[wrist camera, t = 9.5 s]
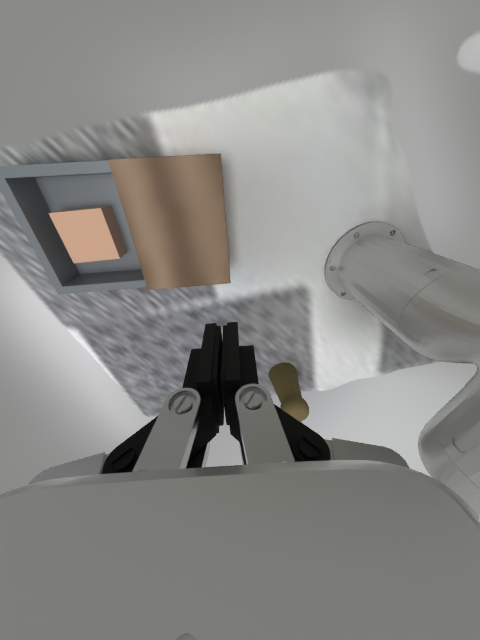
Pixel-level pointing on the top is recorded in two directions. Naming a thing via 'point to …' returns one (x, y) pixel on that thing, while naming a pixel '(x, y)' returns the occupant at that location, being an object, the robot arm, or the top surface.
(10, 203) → the box
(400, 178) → the top surface
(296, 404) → the cork
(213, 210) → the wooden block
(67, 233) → the terracotta block
